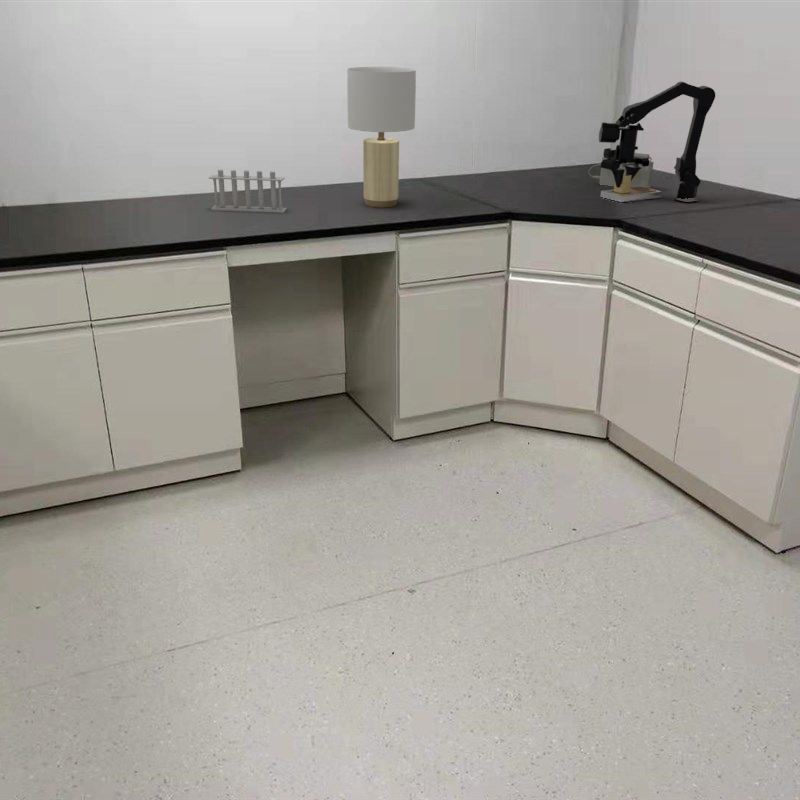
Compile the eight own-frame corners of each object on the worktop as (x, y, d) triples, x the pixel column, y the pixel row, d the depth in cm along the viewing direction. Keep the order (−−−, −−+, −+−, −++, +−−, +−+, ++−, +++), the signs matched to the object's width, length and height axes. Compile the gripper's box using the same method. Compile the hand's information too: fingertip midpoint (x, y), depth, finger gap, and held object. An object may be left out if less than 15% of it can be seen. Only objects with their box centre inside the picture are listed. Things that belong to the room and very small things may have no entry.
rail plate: (640, 192, 318) (641, 185, 317) (661, 198, 309) (662, 190, 308) (600, 197, 309) (601, 189, 308) (620, 203, 301) (621, 195, 299)
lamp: (420, 200, 301) (424, 68, 281) (401, 214, 281) (404, 73, 262) (361, 195, 307) (361, 65, 287) (339, 208, 287) (336, 70, 268)
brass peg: (621, 195, 309) (624, 173, 306) (628, 197, 306) (631, 175, 302) (613, 196, 307) (615, 174, 304) (620, 198, 304) (623, 176, 301)
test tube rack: (211, 210, 282) (207, 170, 276) (214, 207, 286) (211, 168, 280) (283, 213, 280) (281, 173, 275) (286, 210, 284) (284, 170, 279)
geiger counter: (656, 153, 317) (594, 146, 329) (651, 155, 312) (588, 148, 324) (651, 190, 323) (589, 182, 335) (646, 192, 318) (584, 184, 330)
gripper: (631, 138, 309) (625, 180, 316) (592, 141, 300) (588, 185, 307) (653, 142, 300) (646, 186, 307) (614, 146, 292) (608, 190, 299)
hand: (622, 186), depth 305 cm, fingers closed on brass peg, 4 cm apart
